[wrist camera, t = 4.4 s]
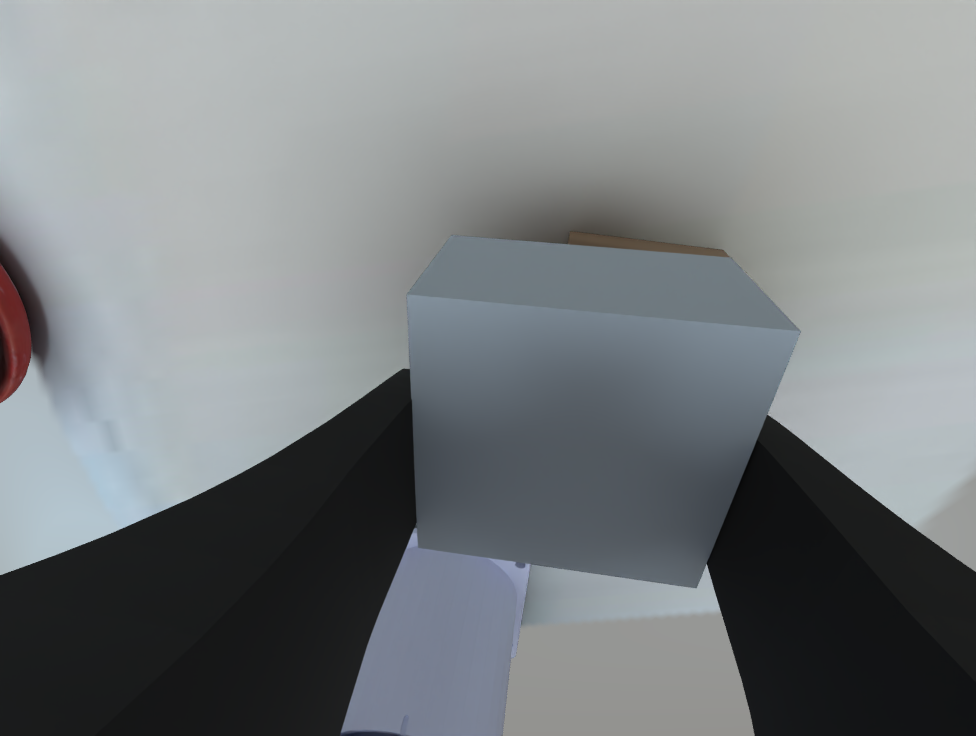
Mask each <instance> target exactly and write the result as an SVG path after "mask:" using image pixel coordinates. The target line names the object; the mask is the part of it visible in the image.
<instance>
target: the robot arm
mask: <svg viewBox="0 0 976 736" xmlns="http://www.w3.org/2000/svg"><path fill="white" fill-rule="evenodd" d="M416 523H417V518H416V495H415V470H414V442H413V414H412V399H411V382H410V369H402V370H400V371H399V372H397V373H396V374H394V375H393V376H392V377H390V378H389V379H387V380H386V381H385V382H383V383H382V384H380V385H379V386H378V387H376V388H375V389H373V390H372V391H371V392H369V393H368V394H366V395H365V396H364V397H362V398H361V399H359V400H358V401H357V402H355V403H354V404H352V405H351V406H349V407H348V408H346V409H345V410H343V411H342V412H341V413H339V414H338V415H336V416H335V417H333V418H332V419H330V420H329V421H327V422H326V423H324V424H323V425H321V426H320V427H318V428H316V429H315V430H313V431H312V432H310V433H308V434H307V435H305V436H304V437H302V438H300V439H299V440H297V441H296V442H294V443H292V444H291V445H289V446H287V447H286V448H284V449H283V450H281V451H279V452H278V453H276V454H275V455H273V456H271V457H269V458H268V459H266V460H264V461H262V462H261V463H259V464H257V465H255V466H253V467H252V468H250V469H248V470H246V471H244V472H242V473H240V474H239V475H237V476H235V477H233V478H231V479H229V480H227V481H225V482H223V483H221V484H219V485H217V486H215V487H213V488H211V489H209V490H207V491H205V492H203V493H201V494H199V495H197V496H195V497H193V498H191V499H188V500H186V501H184V502H182V503H179V504H177V505H175V506H172V507H170V508H168V509H166V510H163V511H161V512H159V513H157V514H154V515H152V516H150V517H148V518H145V519H143V520H141V521H138V522H136V523H134V524H132V525H129V526H127V527H125V528H123V529H120V530H118V531H116V532H114V533H111V534H108V535H106V536H104V537H101V538H99V539H96V540H93V541H91V542H88V543H86V544H83V545H81V546H78V547H75V548H73V549H70V550H68V551H65V552H63V553H60V554H58V555H55V556H52V557H49V558H47V559H44V560H41V561H38V562H36V563H33V564H30V565H28V566H25V567H22V568H19V569H16V570H14V571H11V572H8V573H5V574H3V575H0V736H503V727H504V718H505V708H506V699H507V690H508V680H509V671H510V661H511V658H514V657H515V656H516V651H517V645H518V639H519V633H520V627H521V621H522V615H523V609H524V602H525V596H526V590H527V584H528V578H529V572H530V566H531V564H526V563H519V562H512V561H505V560H498V559H491V558H484V557H477V556H470V555H464V554H457V553H450V552H443V551H436V550H429V549H422V548H418V540H417V528H415V525H416ZM707 566H708V569H709V573H710V576H711V580H712V583H713V586H714V590H715V593H716V597H717V600H718V603H719V606H720V610H721V613H722V616H723V620H724V623H725V626H726V630H727V633H728V636H729V639H730V643H731V646H732V650H733V653H734V656H735V660H736V663H737V666H738V669H739V673H740V676H741V679H742V683H743V687H744V691H745V695H746V699H747V702H748V706H749V710H750V714H751V719H752V724H753V729H754V734H755V736H976V572H975V571H973V570H972V569H971V568H969V567H967V566H966V565H964V564H963V563H962V562H960V561H959V560H957V559H956V558H955V557H953V556H952V555H951V554H949V553H948V552H946V551H945V550H943V549H942V548H941V547H939V546H938V545H937V544H935V543H934V542H932V541H931V540H930V539H928V538H927V537H926V536H924V535H923V534H921V533H920V532H919V531H917V530H916V529H915V528H913V527H912V526H910V525H909V524H908V523H906V522H905V521H904V520H902V519H901V518H900V517H898V516H897V515H896V514H894V513H893V512H892V511H890V510H889V509H888V508H886V507H885V506H884V505H883V504H881V503H880V502H879V501H877V500H876V499H875V498H873V497H872V496H871V495H870V494H868V493H867V492H866V491H864V490H863V489H862V488H861V487H859V486H858V485H857V484H856V483H854V482H853V481H852V480H850V479H849V478H848V477H847V476H845V475H844V474H843V473H842V472H840V471H839V470H838V469H837V468H835V467H834V466H833V465H832V464H830V463H829V462H828V461H827V460H825V459H824V458H823V457H822V456H820V455H819V454H818V453H817V452H815V451H814V450H813V449H812V448H810V447H809V446H808V445H807V444H805V443H804V442H803V441H802V440H800V439H799V438H798V437H797V436H795V435H794V434H793V433H792V432H790V431H789V430H788V429H786V428H785V427H784V426H782V425H781V424H780V423H778V422H777V421H776V420H774V419H773V418H771V417H770V416H768V415H767V416H766V419H765V421H764V424H763V426H762V429H761V431H760V433H759V436H758V438H757V441H756V443H755V446H754V448H753V451H752V453H751V456H750V458H749V461H748V463H747V465H746V468H745V470H744V473H743V475H742V478H741V480H740V483H739V485H738V488H737V490H736V493H735V495H734V497H733V500H732V502H731V505H730V507H729V510H728V512H727V515H726V517H725V520H724V522H723V525H722V527H721V529H720V532H719V534H718V537H717V539H716V542H715V544H714V547H713V549H712V552H711V554H710V557H709V559H708V561H707Z"/></svg>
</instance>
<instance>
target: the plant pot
mask: <svg viewBox="0 0 976 736" xmlns="http://www.w3.org/2000/svg"><path fill="white" fill-rule="evenodd" d="M30 358H31V333H30V326H29V322H28V318H27V314H26V311H25V308H24V306H23V303H22V300H21V298H20V296H19V294H18V291H17V289H16V287H15V286H14V284H13V282H12V281H11V279H10V277H9V275H8V274H7V272H6V271H5V269H4V268H3V266H2V265H1V264H0V403H1V402H3V401H4V400H6V399H7V398H8V397H10V396H11V395H12V394H13V393H14V392H15V391H16V390H17V388H18V387H19V386H20V384H21V382H22V381H23V379H24V377H25V375H26V372H27V369H28V366H29V363H30Z"/></svg>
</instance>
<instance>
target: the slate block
mask: <svg viewBox="0 0 976 736" xmlns="http://www.w3.org/2000/svg"><path fill="white" fill-rule="evenodd" d="M407 315H408V337H409V360H410V382H411V399H412V414H413V442H414V470H415V495H416V518H417V540H418V548H422V549H429V550H436V551H443V552H450V553H457V554H464V555H470V556H477V557H484V558H491V559H498V560H505V561H512V562H519V563H526V564H533V565H539V566H546V567H553V568H560V569H567V570H574V571H581V572H588V573H595V574H601V575H608V576H615V577H622V578H629V579H636V580H643V581H650V582H657V583H664V584H670V585H677V586H684V587H691V588H697V586H698V584H699V581H700V579H701V576H702V574H703V571H704V569H705V566H706V564H707V561H708V559H709V557H710V554H711V552H712V549H713V547H714V544H715V542H716V539H717V537H718V534H719V532H720V529H721V527H722V525H723V522H724V520H725V517H726V515H727V512H728V510H729V507H730V505H731V502H732V500H733V497H734V495H735V493H736V490H737V488H738V485H739V483H740V480H741V478H742V475H743V473H744V470H745V468H746V465H747V463H748V461H749V458H750V456H751V453H752V451H753V448H754V446H755V443H756V441H757V438H758V436H759V433H760V431H761V429H762V426H763V424H764V421H765V419H766V416H767V414H768V411H769V409H770V406H771V404H772V401H773V399H774V397H775V394H776V392H777V389H778V387H779V384H780V382H781V379H782V377H783V374H784V372H785V369H786V367H787V365H788V362H789V360H790V357H791V355H792V352H793V350H794V347H795V345H796V342H797V340H798V337H799V335H800V333H801V331H800V330H799V329H798V328H797V327H796V326H795V325H794V324H793V322H792V321H791V320H790V319H789V318H788V317H787V316H786V315H785V314H784V313H783V312H782V311H781V310H780V309H779V308H778V307H777V306H776V304H775V303H774V302H773V301H772V300H771V299H770V298H769V297H768V296H767V295H766V294H765V293H764V292H763V291H762V290H761V289H760V288H759V287H758V285H757V284H756V283H755V282H754V281H753V280H752V279H751V278H750V277H749V276H748V275H747V274H746V273H745V272H744V271H743V270H742V269H741V268H740V266H739V265H738V264H737V263H736V262H735V261H734V260H733V259H732V258H730V257H718V256H705V255H693V254H681V253H668V252H656V251H644V250H631V249H619V248H606V247H594V246H582V245H569V244H557V243H545V242H532V241H520V240H508V239H495V238H483V237H470V236H458V235H451V237H450V238H449V239H448V241H447V242H446V243H445V245H444V246H443V247H442V248H441V250H440V251H439V252H438V254H437V255H436V256H435V258H434V259H433V260H432V262H431V263H430V264H429V266H428V267H427V268H426V270H425V271H424V272H423V273H422V275H421V276H420V277H419V279H418V280H417V281H416V283H415V284H414V285H413V287H412V288H411V289H410V291H409V292H408V293H407Z"/></svg>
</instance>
